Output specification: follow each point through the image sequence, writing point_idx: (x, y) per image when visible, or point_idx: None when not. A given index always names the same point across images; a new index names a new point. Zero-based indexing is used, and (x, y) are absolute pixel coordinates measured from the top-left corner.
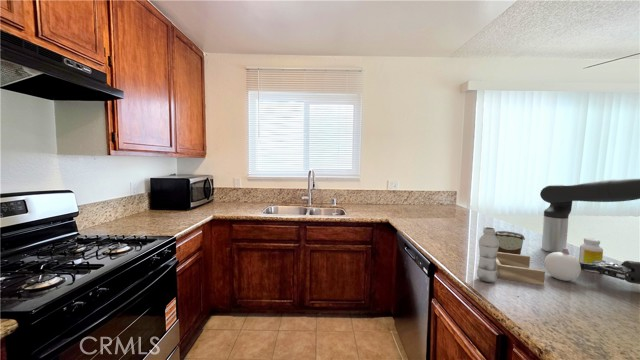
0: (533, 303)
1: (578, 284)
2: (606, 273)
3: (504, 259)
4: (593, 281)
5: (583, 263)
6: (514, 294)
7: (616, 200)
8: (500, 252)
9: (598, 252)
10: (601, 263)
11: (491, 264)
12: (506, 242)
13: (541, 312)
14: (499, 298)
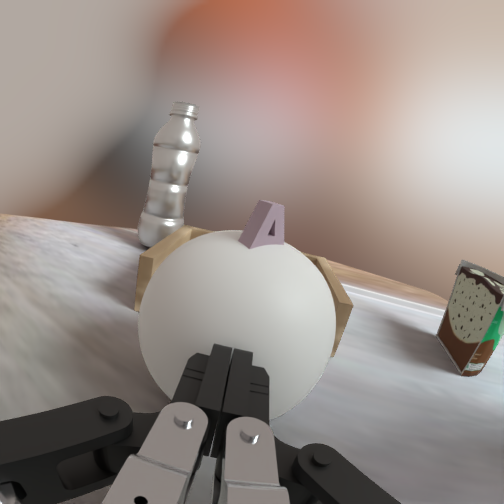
0: (41, 245)
1: None
2: (90, 476)
3: None
4: None
5: (217, 350)
6: (83, 245)
7: None
8: (330, 267)
9: None
10: (249, 483)
11: (147, 193)
12: (465, 306)
13: (12, 237)
14: (74, 230)
